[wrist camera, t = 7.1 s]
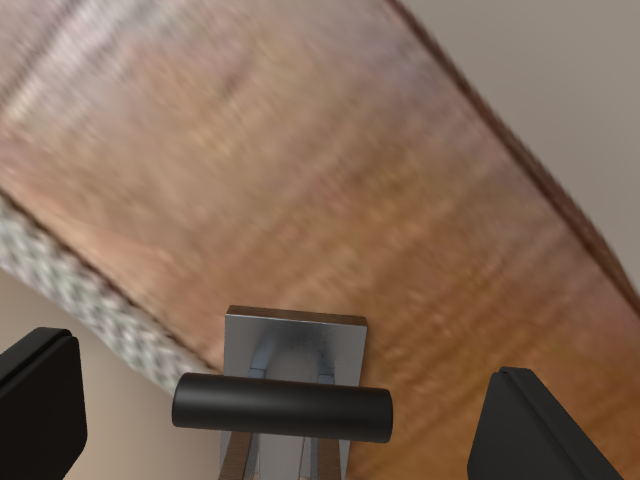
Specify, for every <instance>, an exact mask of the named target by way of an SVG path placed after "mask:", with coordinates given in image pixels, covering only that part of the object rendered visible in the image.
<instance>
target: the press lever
mask: <svg viewBox="0 0 640 480" xmlns="http://www.w3.org/2000/svg"><path fill="white" fill-rule="evenodd" d="M172 423H173V425H174V426H176V427H183V428H197V429H209V430H221V431H234V432H247V433H259V461H258V480H299V478H300V470H301V463H302V456H303V449H304V441H305V437H311V438H323V439H336V440H349V441H362V442H374V443H387V442H389V440H390V438H391V434H392V429H393V403H392V398H391V394H390V392H389V390H387V389H381V388H369V387H357V386H345V385H333V384H321V383H309V382H297V381H285V380H273V379H260V378H248V377H236V376H224V375H212V374H200V373H188V372H187V373H184V374H183V375H182V376H181V378H180V380H179V382H178V384H177V387H176V390H175V394H174V398H173V404H172Z"/></svg>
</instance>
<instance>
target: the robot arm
mask: <svg viewBox="0 0 640 480" xmlns="http://www.w3.org/2000/svg"><path fill="white" fill-rule="evenodd" d="M86 441H87V423H86V412H85V402H84V391H83V381H82V371H81V360H80V349H79V342H78V339H77V338H76V337H73V336H72V334H71V332H70V331H69V330H67V329H59V328H47V327H38V328H37V329H34V330H33V331H32V332H30V333H29V334H27V335H26V336H25V337H23V338H22V339H21V340H19V341H18V342H17V343H15V344H14V345H13V346H11V347H10V348H9V349H7V350H6V351H5V352H4V353H2V354H0V480H63V478H64V477H65V475H66V474H67V473H68V471H69V470H70V468H71V467H72V465H73V464H74V463H75V461H76V460H77V458H78V457H79V456H80V454H81V453H82V451H83V449H84V447H85V444H86ZM467 473H468V479H469V480H624V479H623V478H622V477H621V476H620V475H619V473H618V472H617V471H616V470H615V469H614V467H613V466H612V465H611V464H610V463H609V461H608V460H607V459H606V458H605V457H604V456H603V454H602V453H601V452H600V451H599V450H598V448H597V447H596V446H595V445H594V444H593V442H592V441H591V440H590V439H589V438H588V437H587V435H586V434H585V433H584V432H583V431H582V429H581V428H580V427H579V426H578V425H577V423H576V422H575V421H574V420H573V419H572V418H571V416H570V415H569V414H568V413H567V412H566V410H565V409H564V408H563V407H562V406H561V404H560V403H559V402H558V401H557V400H556V399H555V397H554V396H553V395H552V394H551V393H550V391H549V390H548V389H547V388H546V387H545V386H544V384H543V383H542V382H541V381H540V380H539V378H538V377H537V376H536V375H535V374H534V372H532V371H531V370H530V369H527V368H515V367H501V368H500V370H499V371H498V373H497V372H495V373H493V374H492V376H491V378H490V382H489V386H488V389H487V393H486V397H485V400H484V404H483V408H482V412H481V415H480V419H479V423H478V427H477V430H476V434H475V438H474V441H473V445H472V449H471V453H470V456H469V460H468V465H467Z"/></svg>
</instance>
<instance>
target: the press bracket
mask: <svg viewBox="0 0 640 480" xmlns="http://www.w3.org/2000/svg"><path fill="white" fill-rule="evenodd" d="M366 334H367V323H366V319H365V317H357V316H346V315H335V314H323V313H312V312H301V311H289V310H278V309H267V308H255V307H244V306H233V305H230V307H229V309H228V311H227V313H226V316H225V344H224V371H223V375H224V376H236V377H248V378H260V379H273V380H285V381H297V382H309V383H321V384H333V385H345V386H357V387H359V381H360V375H361V368H362V361H363V354H364V348H365V341H366ZM350 442H351V441H349V440H336V439H323V438H311V437H305V441H304V449H303V456H302V463H301V470H300V477H310V480H345V476H346V469H347V462H348V456H349V449H350ZM258 461H259V433H247V432H234V431H221V455H220V474H219V478H218V480H253V478H254V473H257V474H258Z"/></svg>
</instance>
